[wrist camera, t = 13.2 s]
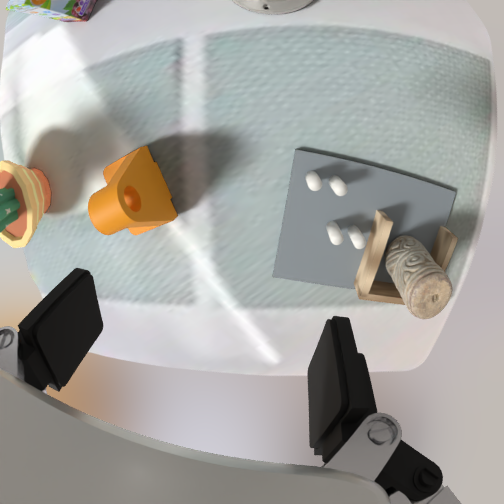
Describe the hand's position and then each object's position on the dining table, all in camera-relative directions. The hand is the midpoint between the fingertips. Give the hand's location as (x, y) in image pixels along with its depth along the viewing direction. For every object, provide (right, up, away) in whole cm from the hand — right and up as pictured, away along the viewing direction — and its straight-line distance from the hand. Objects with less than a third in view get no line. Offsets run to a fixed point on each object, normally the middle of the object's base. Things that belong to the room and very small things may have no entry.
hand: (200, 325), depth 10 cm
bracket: (-13, +12, +28) cm, 33 cm away
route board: (+18, +6, +27) cm, 33 cm away
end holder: (+24, +2, +27) cm, 36 cm away
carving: (+23, +3, +27) cm, 36 cm away
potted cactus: (-37, +14, +29) cm, 49 cm away
